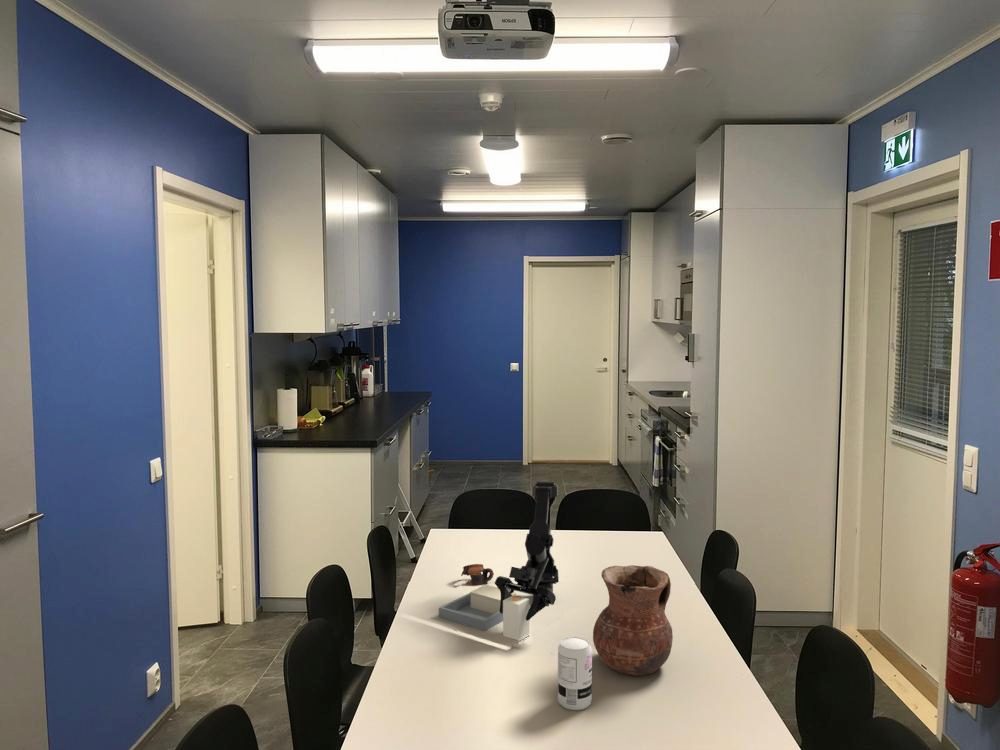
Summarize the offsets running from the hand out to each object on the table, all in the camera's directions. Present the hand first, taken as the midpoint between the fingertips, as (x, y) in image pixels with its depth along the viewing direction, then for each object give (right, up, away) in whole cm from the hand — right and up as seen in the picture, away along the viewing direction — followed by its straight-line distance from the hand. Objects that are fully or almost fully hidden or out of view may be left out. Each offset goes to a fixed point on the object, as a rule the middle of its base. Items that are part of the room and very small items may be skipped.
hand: (513, 616), depth 217 cm
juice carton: (+1, -7, +2) cm, 7 cm away
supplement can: (+14, -10, -36) cm, 40 cm away
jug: (+32, -8, -15) cm, 36 cm away
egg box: (-6, -4, +22) cm, 24 cm away
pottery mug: (-12, -4, +47) cm, 48 cm away
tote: (-9, -6, +18) cm, 21 cm away
